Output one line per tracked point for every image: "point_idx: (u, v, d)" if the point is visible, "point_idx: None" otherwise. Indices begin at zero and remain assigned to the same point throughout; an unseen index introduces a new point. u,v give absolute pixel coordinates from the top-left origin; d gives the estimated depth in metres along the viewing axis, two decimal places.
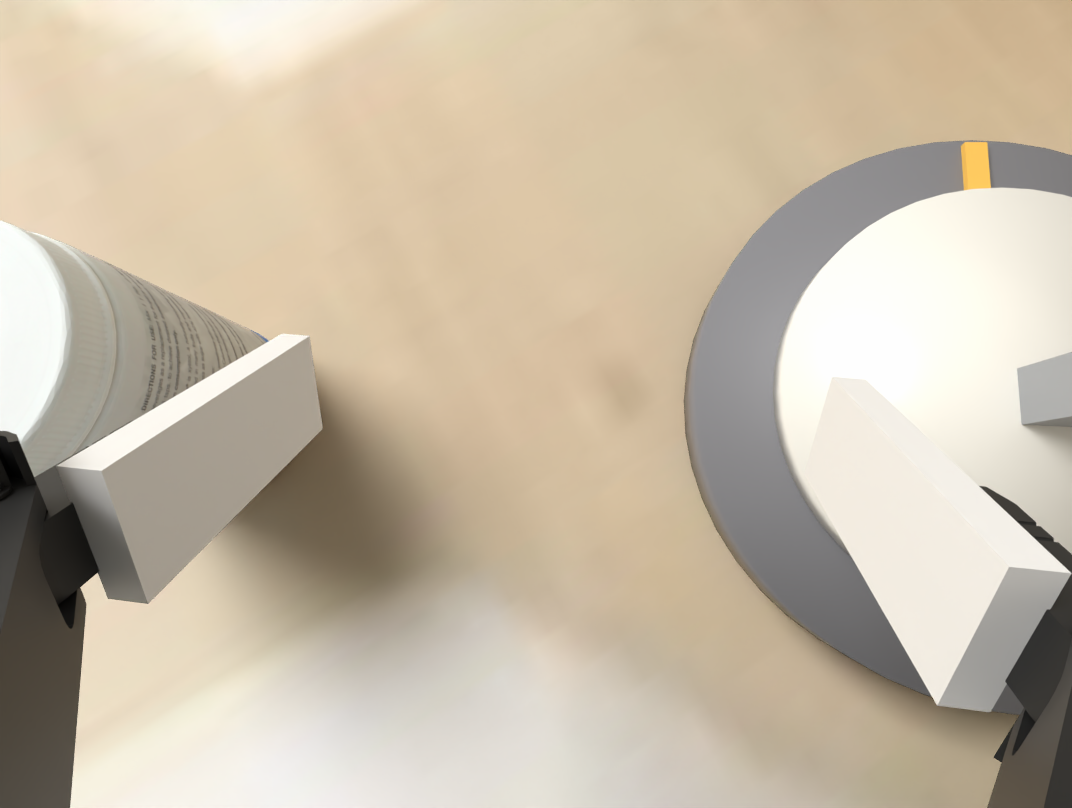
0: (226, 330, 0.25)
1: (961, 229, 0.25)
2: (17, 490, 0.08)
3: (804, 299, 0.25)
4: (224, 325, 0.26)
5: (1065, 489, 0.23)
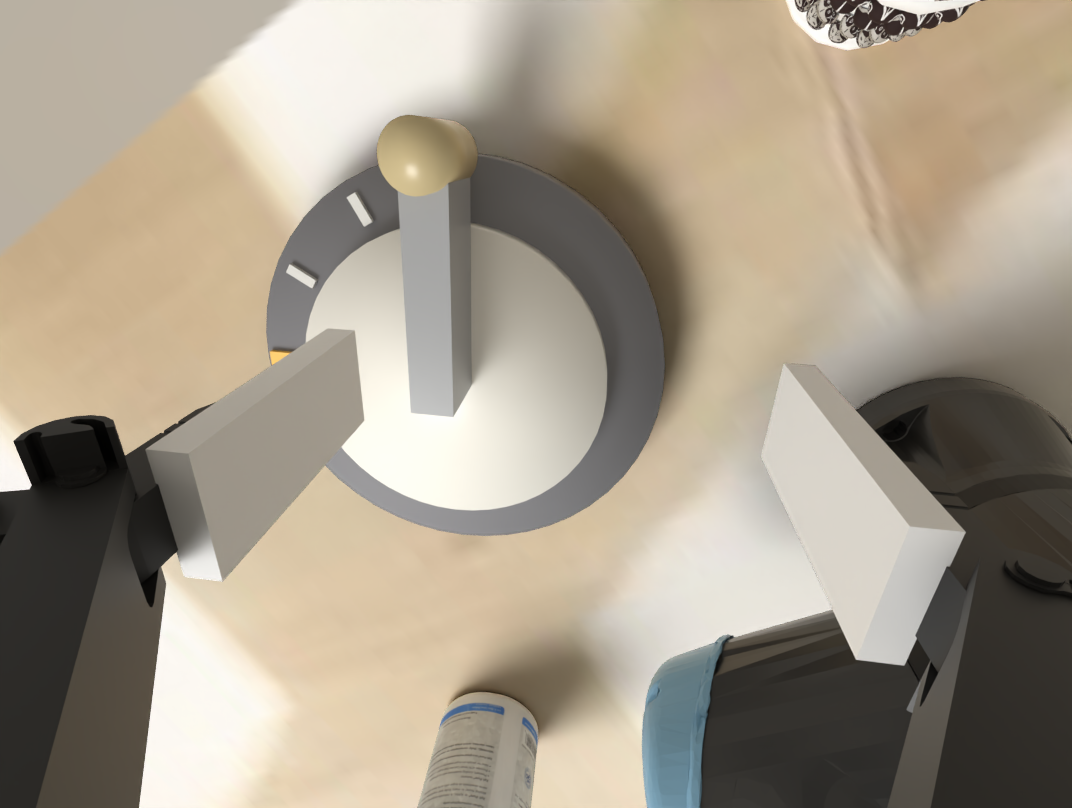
0: (442, 757, 0.48)
1: None
2: (111, 473, 0.09)
3: (398, 491, 0.39)
4: (439, 756, 0.48)
5: (513, 367, 0.34)
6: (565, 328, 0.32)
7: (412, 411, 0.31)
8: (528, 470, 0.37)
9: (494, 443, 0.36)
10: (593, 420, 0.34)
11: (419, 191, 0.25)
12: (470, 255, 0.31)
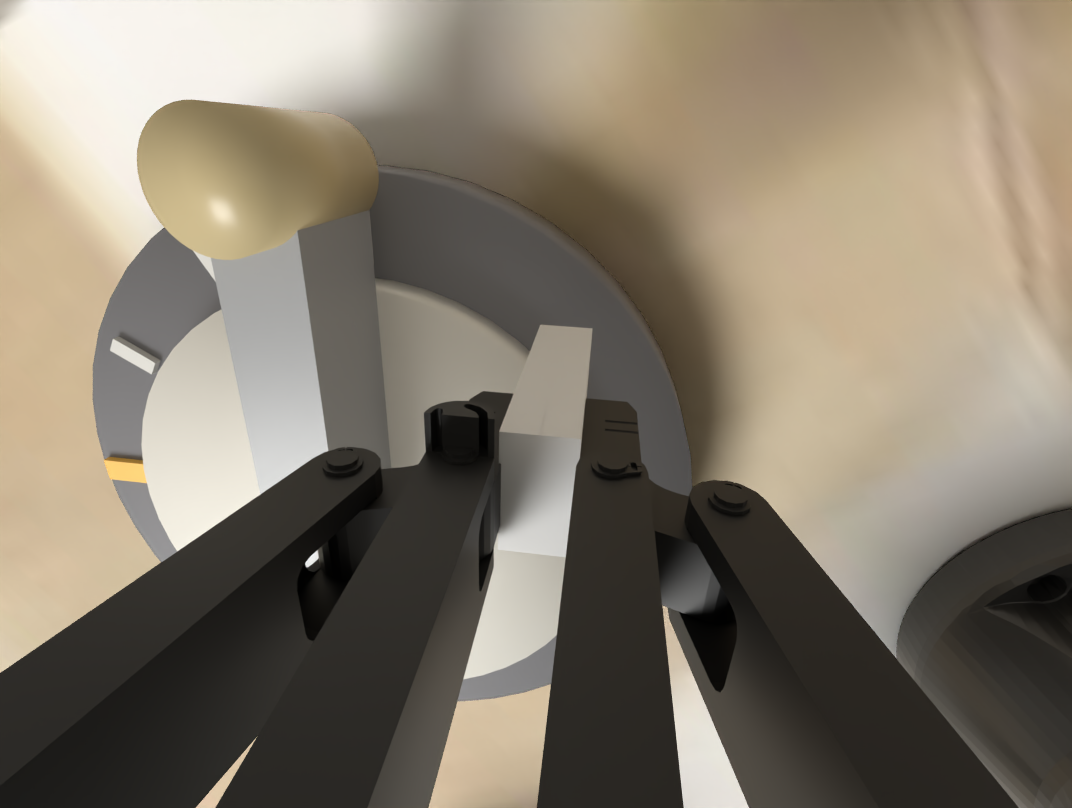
0: None
1: None
2: (481, 459, 0.09)
3: None
4: None
5: None
6: None
7: None
8: (487, 636, 0.25)
9: None
10: None
11: (231, 250, 0.13)
12: (378, 334, 0.19)
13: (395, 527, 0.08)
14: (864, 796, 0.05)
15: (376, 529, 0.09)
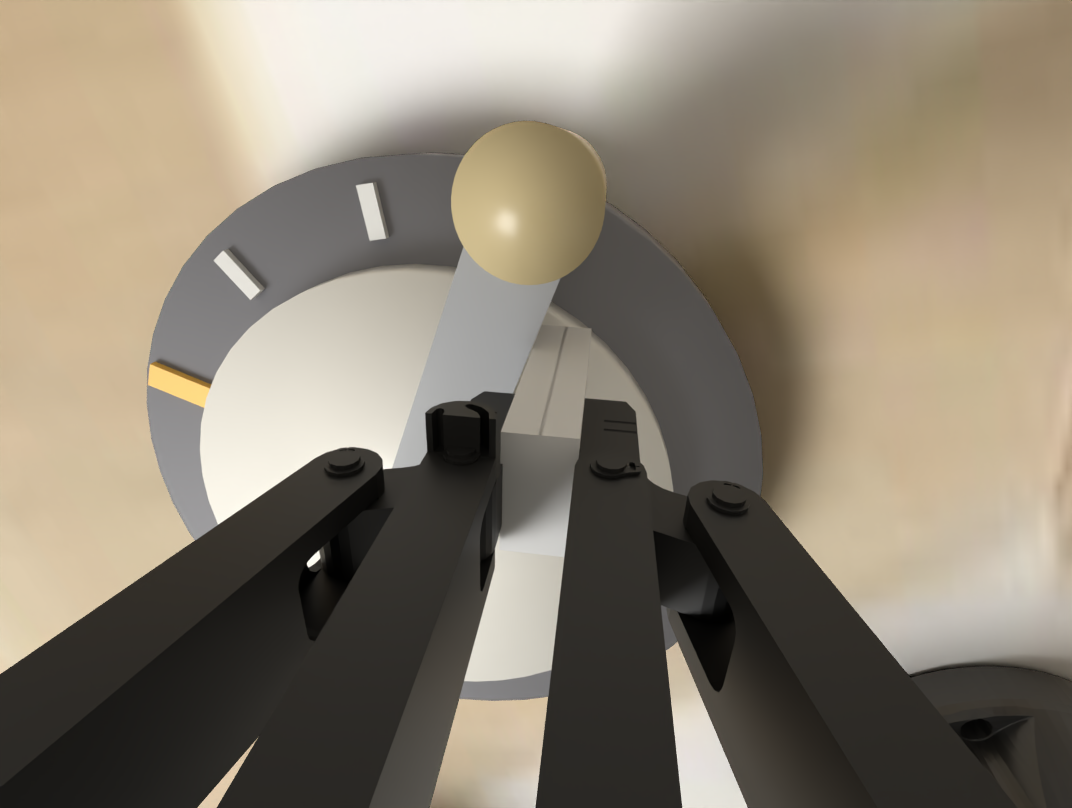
0: None
1: (244, 478, 0.23)
2: (482, 459, 0.09)
3: None
4: None
5: None
6: None
7: None
8: (497, 649, 0.25)
9: None
10: None
11: (514, 274, 0.12)
12: (528, 353, 0.19)
13: (396, 527, 0.08)
14: (862, 796, 0.05)
15: (378, 529, 0.09)
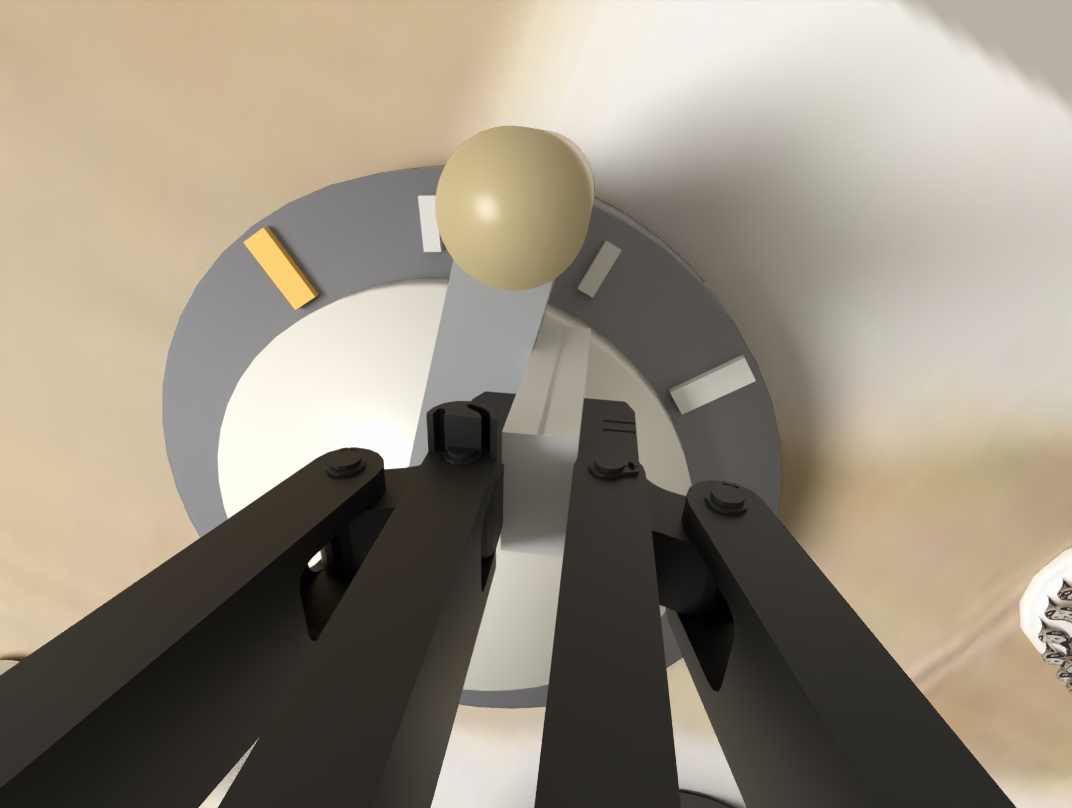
0: None
1: None
2: (483, 459, 0.09)
3: None
4: None
5: None
6: None
7: None
8: (529, 656, 0.25)
9: (489, 613, 0.24)
10: None
11: (505, 280, 0.12)
12: None
13: (398, 527, 0.08)
14: (861, 795, 0.05)
15: (379, 529, 0.09)
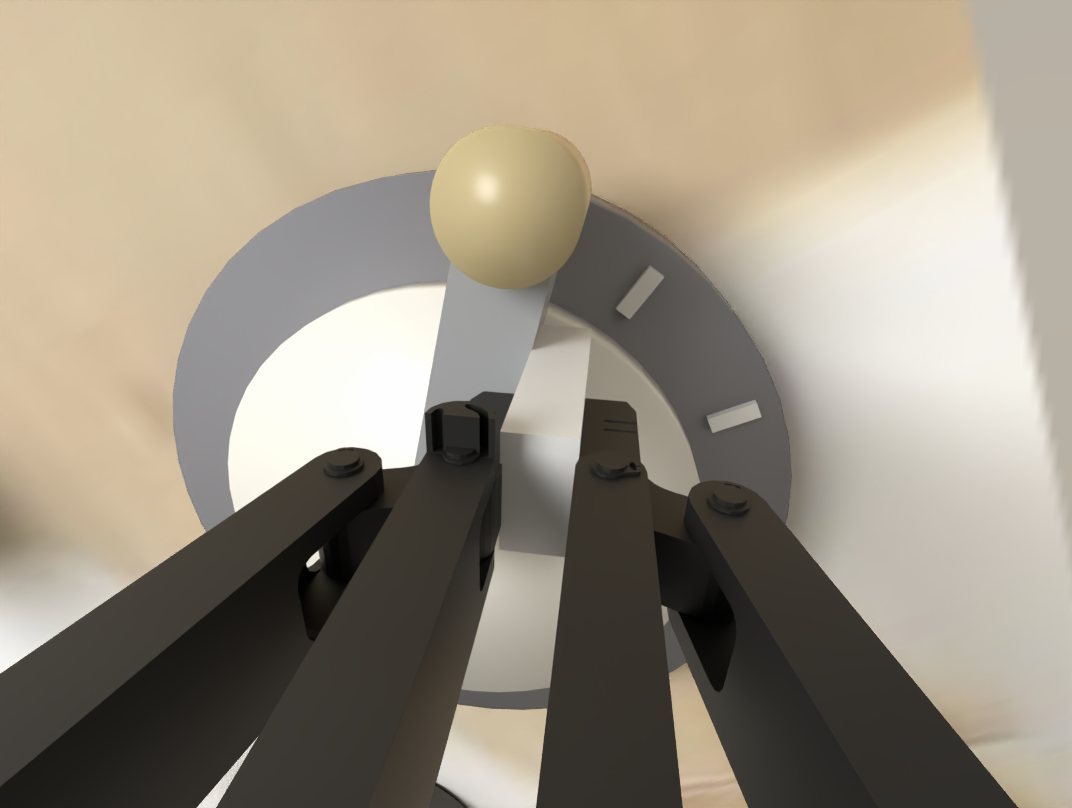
0: None
1: None
2: (482, 459, 0.09)
3: None
4: None
5: None
6: None
7: None
8: (542, 656, 0.25)
9: (501, 614, 0.24)
10: None
11: (501, 279, 0.12)
12: None
13: (396, 527, 0.08)
14: (863, 796, 0.05)
15: (377, 529, 0.09)
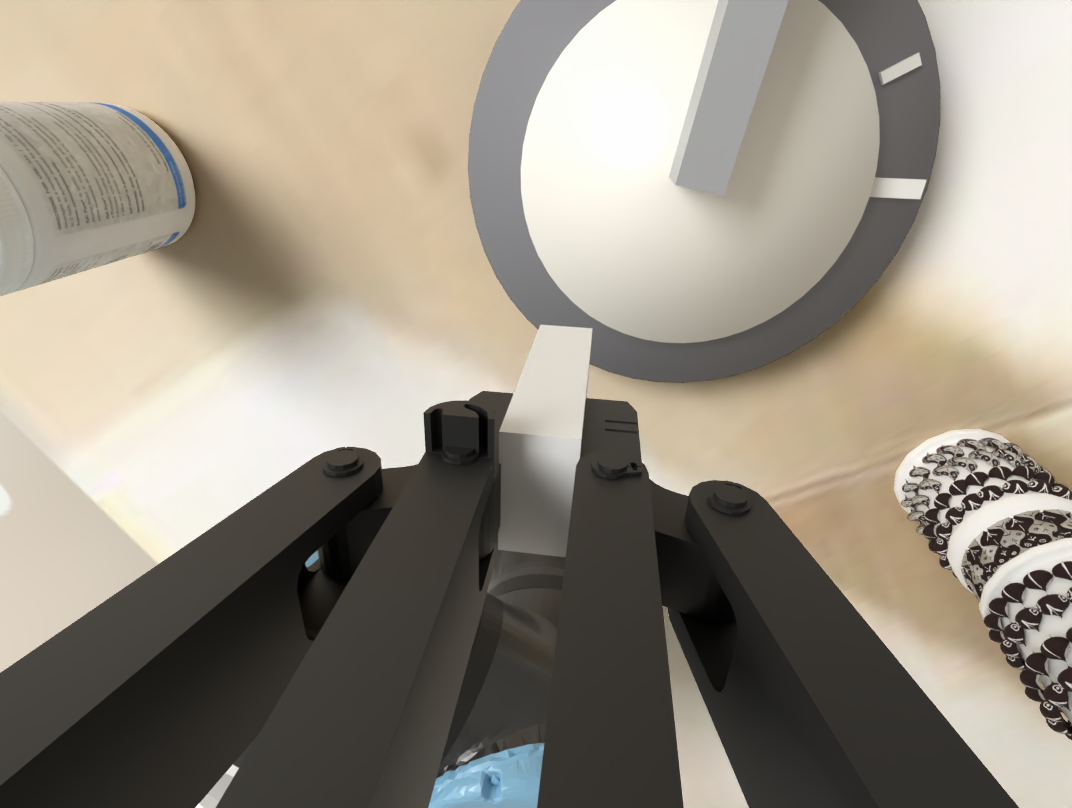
0: (94, 134, 0.33)
1: (552, 186, 0.32)
2: (481, 459, 0.09)
3: (584, 310, 0.35)
4: (91, 128, 0.33)
5: (767, 167, 0.30)
6: (844, 124, 0.29)
7: (677, 183, 0.27)
8: (741, 299, 0.33)
9: (714, 262, 0.33)
10: (836, 245, 0.31)
11: None
12: None
13: (395, 527, 0.08)
14: (864, 796, 0.05)
15: (376, 529, 0.09)
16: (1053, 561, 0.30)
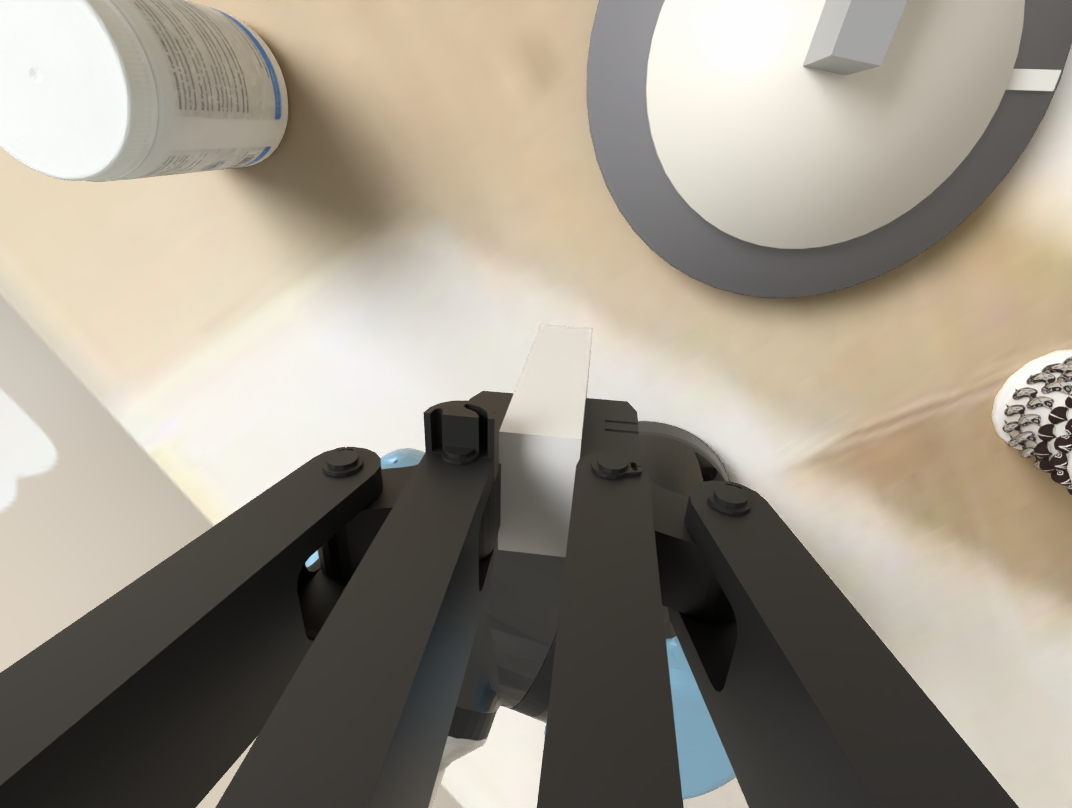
0: (207, 24, 0.32)
1: (679, 79, 0.31)
2: (481, 459, 0.09)
3: (701, 215, 0.34)
4: (203, 18, 0.32)
5: (906, 54, 0.30)
6: (989, 6, 0.28)
7: (834, 53, 0.26)
8: (866, 199, 0.33)
9: (841, 158, 0.32)
10: (970, 137, 0.31)
11: None
12: None
13: (395, 527, 0.08)
14: (864, 796, 0.05)
15: (376, 529, 0.09)
16: None
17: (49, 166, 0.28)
